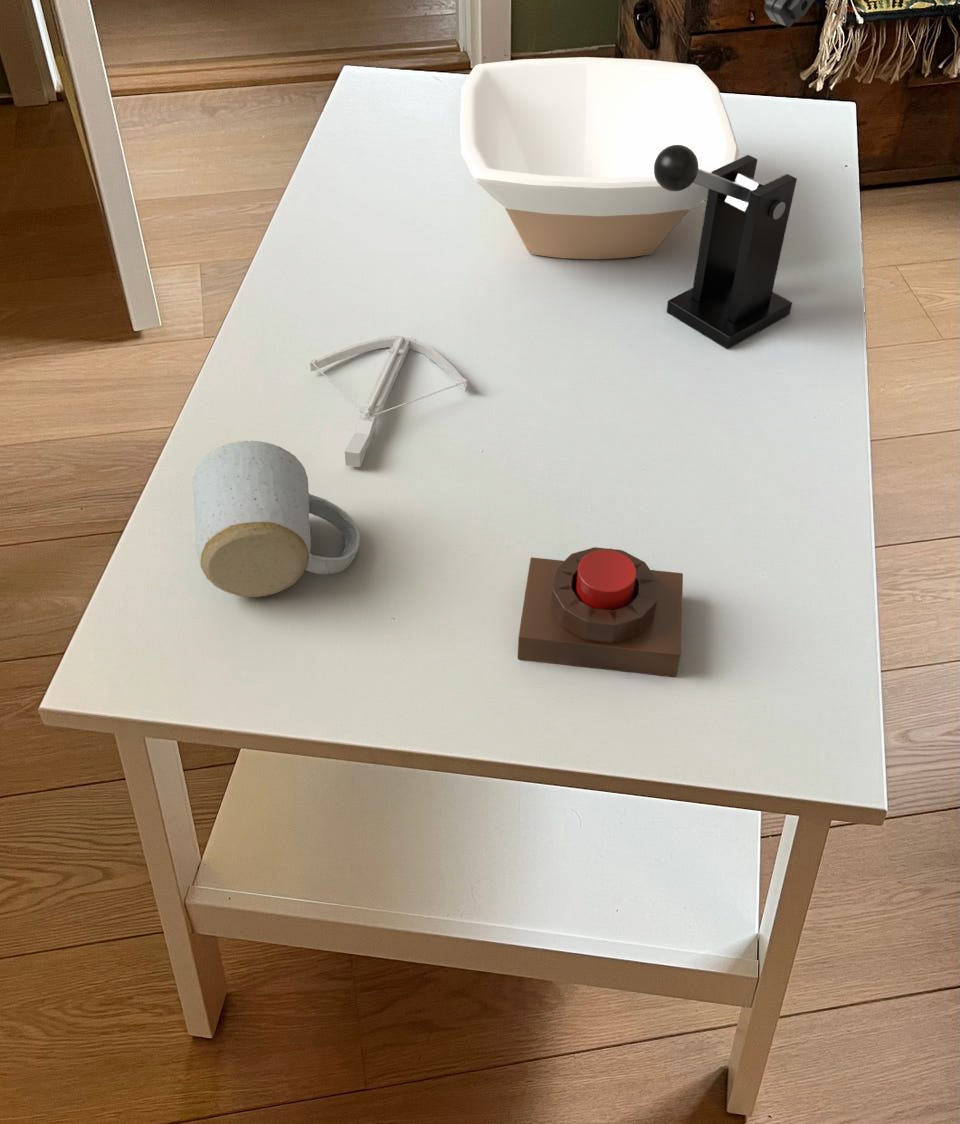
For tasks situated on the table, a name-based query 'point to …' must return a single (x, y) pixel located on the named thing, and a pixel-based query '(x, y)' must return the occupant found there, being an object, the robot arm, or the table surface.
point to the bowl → (590, 148)
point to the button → (606, 579)
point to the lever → (700, 176)
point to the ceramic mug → (261, 520)
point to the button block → (601, 620)
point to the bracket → (738, 261)
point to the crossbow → (381, 385)
